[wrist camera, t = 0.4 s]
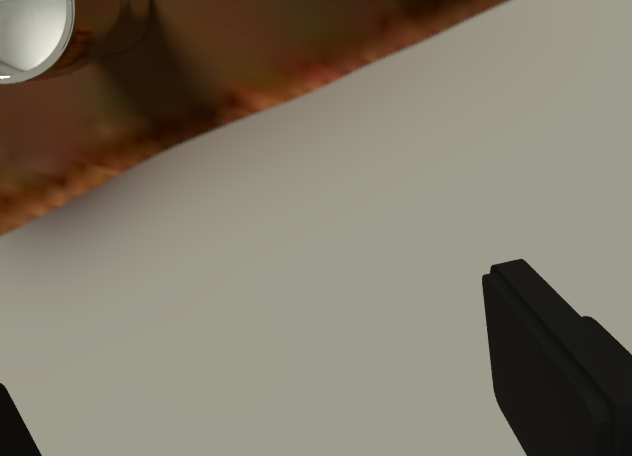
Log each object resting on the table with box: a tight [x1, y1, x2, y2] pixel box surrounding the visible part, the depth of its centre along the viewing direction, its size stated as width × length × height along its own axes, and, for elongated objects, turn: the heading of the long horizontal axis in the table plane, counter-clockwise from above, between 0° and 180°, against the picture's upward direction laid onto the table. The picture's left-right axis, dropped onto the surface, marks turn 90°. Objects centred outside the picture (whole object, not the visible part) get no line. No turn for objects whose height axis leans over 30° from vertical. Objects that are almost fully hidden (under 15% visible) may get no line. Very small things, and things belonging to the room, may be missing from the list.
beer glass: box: [0, 0, 151, 84], centre depth 28 cm, size 7×7×15 cm
